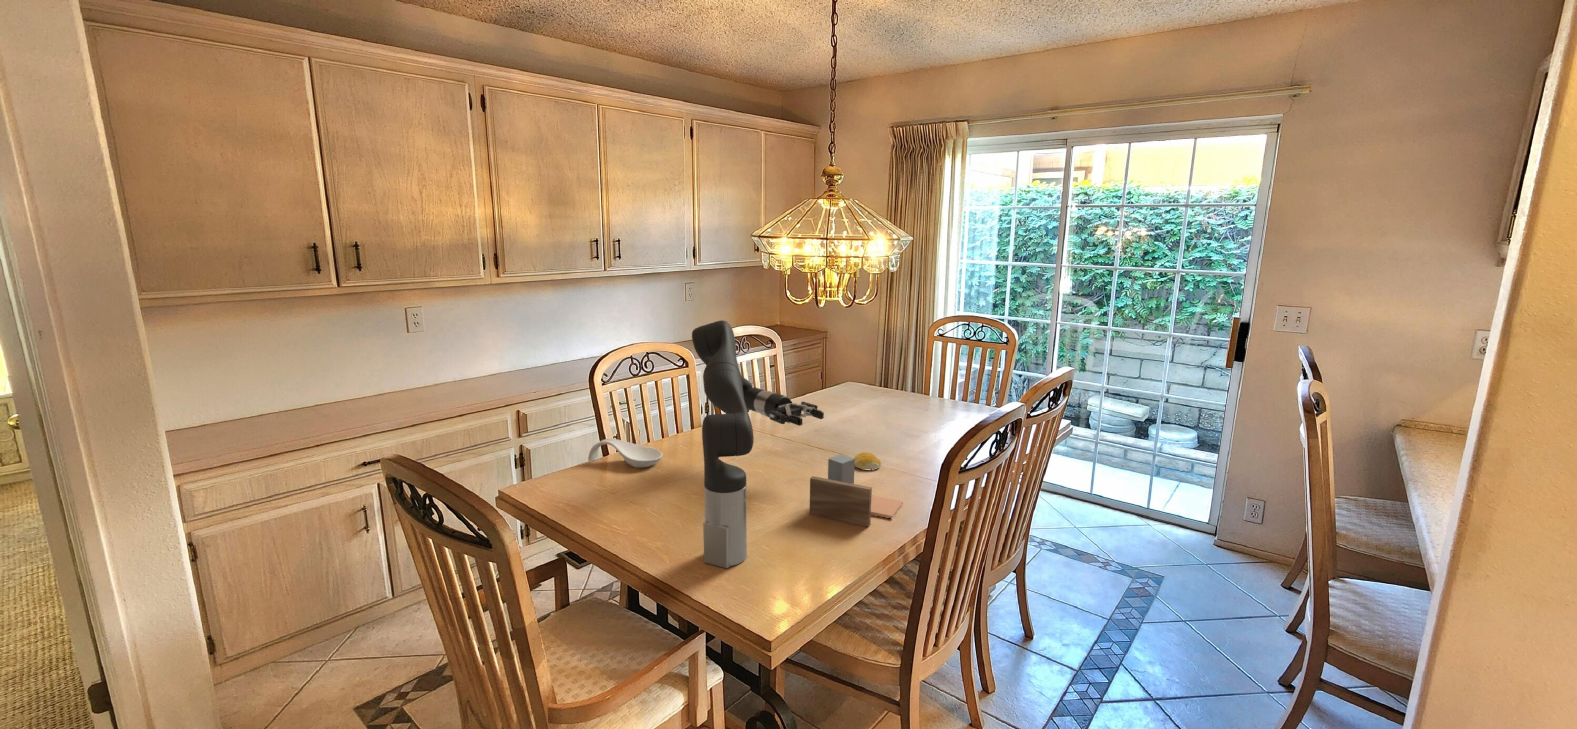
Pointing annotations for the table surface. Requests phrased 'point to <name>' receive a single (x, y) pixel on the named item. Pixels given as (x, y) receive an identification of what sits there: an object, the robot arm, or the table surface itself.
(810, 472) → the table surface
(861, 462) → the bread roll
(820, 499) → the walnut screen
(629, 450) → the spoon rest
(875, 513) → the terracotta tile
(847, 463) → the slate block
